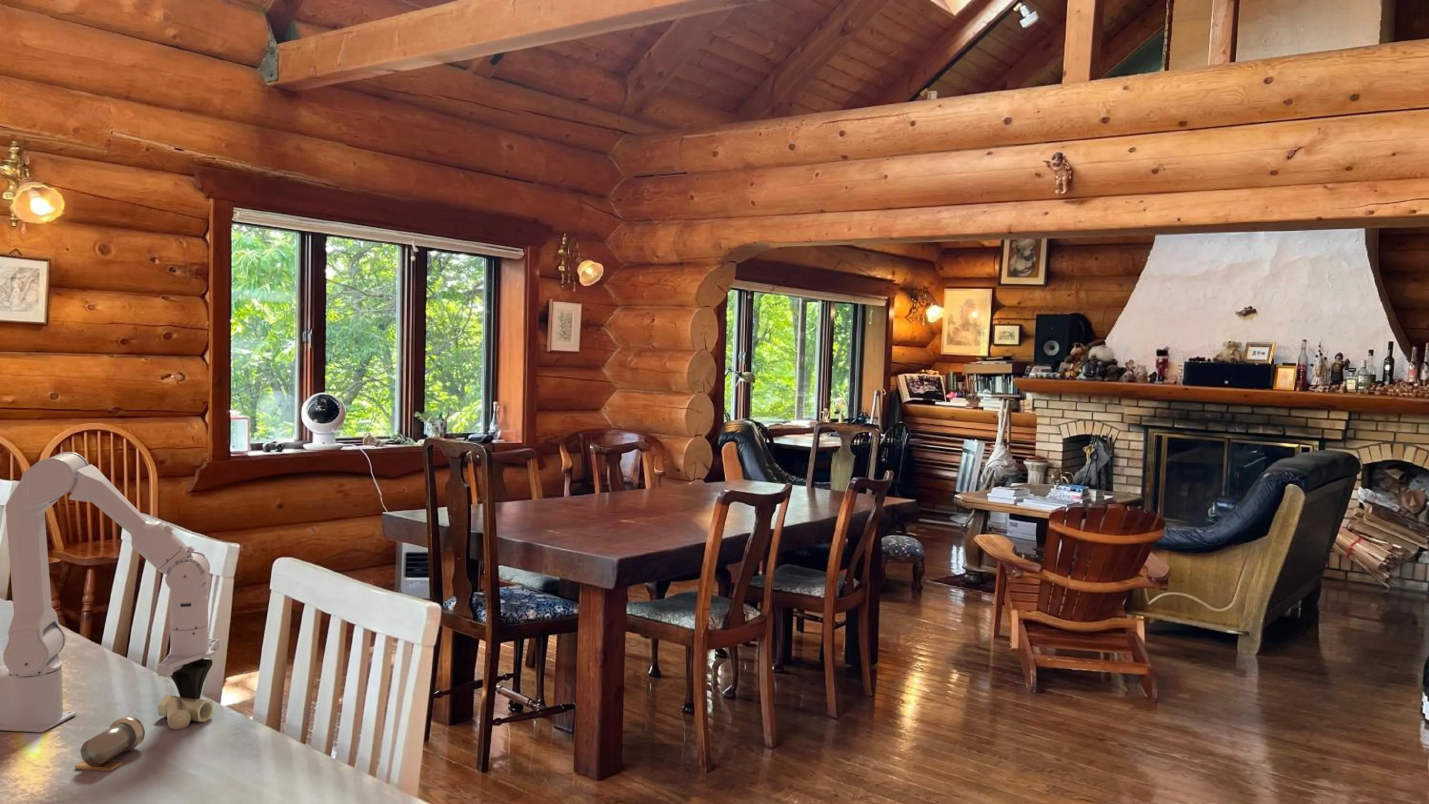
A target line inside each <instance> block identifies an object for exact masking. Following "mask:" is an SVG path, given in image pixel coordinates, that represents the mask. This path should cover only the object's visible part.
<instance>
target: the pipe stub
mask: <svg viewBox="0 0 1429 804" xmlns="http://www.w3.org/2000/svg"><path fill="white" fill-rule="evenodd" d="M145 730H146V729H145V727H144V724H143V723H142V721H141V720H139V719H138V718H136V717H134V716H131V715H127V716H126V715H125V716H122V717H120V718H118V719H117V720H115V721H113V722H112V723H111V724H110V726H109V728H107V729H106V730H104V731H102V732H101V733H98V734H97V735H95V736H92V738H90V739H87V741H85V742H83V744H82V746H81V747H80V755H81V758H82V760H83V761H81V762H79V763H77V764H76V765H74V770H82V771H85V770H86V771H101V772H102V771H104V772H113V771H114V770H116V769H117V768H118V767H121V766H123V761H122V760H111V759H113V758H114V757H116V756H118V755H119V754H121V753H122V752H129V751H132V750H133V749H135V748H137V747H138V746H140V745H141V744H142V743H143V742H144V739H145V736H146V735H145V734H146V731H145Z"/></svg>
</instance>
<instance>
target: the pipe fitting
mask: <svg viewBox="0 0 1429 804" xmlns="http://www.w3.org/2000/svg"><path fill="white" fill-rule="evenodd" d="M157 713H158V716H159V717H165V718H167V725H168V727H170V729H172V730H179V729H186V728H187V727H188V726H189V725H190V723H191V721H193V722H201V723H202V722H203V723H205V722H207V721H209V720H210V718H211V717H212V715H213V713H214V703H213V701H212V700H208V699H201V698H200V699H190V698H182V697H180V696H176V695H169V694H165V695H164V696H163V697H162V698H161V699H160V701H159V703H158V705H157Z"/></svg>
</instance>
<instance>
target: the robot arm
mask: <svg viewBox="0 0 1429 804" xmlns="http://www.w3.org/2000/svg"><path fill="white" fill-rule="evenodd" d="M69 493H71V494H70V495H69V497H68V500H71V501H76V502H77V501H79V502H87V503H88V502H89V503H92V504H93V505H94V506H96V507H97V508H98V509H99V510H101V511H102V512H103V513H104V514H105V515H107V517H109V518H110V519H111V520H113V521H114V522H115V523H116V524H118V525H119V526H120V527H121V528H122V529H123V530H125V531H126V532H127V533H128V534H130V536H131V543H130V544H131V547H132V548H133V549H134V550H135V551H136V552H138V554H139V555H141V556H142V558H144V559H145V560H146V561H147V562H148V563H149V564H150V565H152V566H153V567H154V568H155V569H156V570H158V572H160V573H162V574H164V575H166V576H165V577H164V580H165V583H166V585H167V587H168V588H169V589H170V600H169V622H170V623H169V625H170V626H169V628H170V631H169V632H170V633H169V634H170V635H169V636H170V641H169V642H170V652H169V653H168V654H167V656H166V657H165V658H164V659H163V661H162V662H160V663H158V664H157V676H158V677H168V678H169V677H170V678H171V680H172V681H173V683H174V684H175V686H176V689H177V692H178V695H179V697H182V698H190V699H201V695H202V691H203V687H204V683H205V680H206V678H207V676H208V673H209V671H210V669H211V667H212V666H213V659H210V658H212V657H214V656H215V655H216V652H218V651H219V650H220V638H209V597H208V584H207V581H206V580H207V578H208V576H209V575H210V571H211V570H210V569H211V565H210V562H209V560H208V559H207V557H206V556H205V554H204V553H202V552H201V551H197V550H196V549H195V547H193V545H190V546H188V545H187V544H186V543H185V542H184V541H182V539H180V538H179V537H178V536H177V535H176V534H175V533H174V532H173V531H174V530H175V527H173V525H171V524H170V523H167V524H164V523H163V522H162V521H161V520H149V519H147V518H146V517H145V515H143V514H142V513H141V512H140V510H138V509H137V508H136V507H135V506H134V504H133V503H131V502H130V501H129V499H127V498H126V497H125V495H123V494H122V492H121V491H119V490H118V488H117V487H116V486H115V485H114V484H113V483H112V482H111V481H110V480H109V479H108V478H107V477H106V476H105V474H103V473H102V472H101V470H99V468H97V466H95V465H93V464H92V463H91V464H89V462H88V460H87V459H86V458H85V457H84V456H82V455H80V453H77V452H73V451H72V452H71V451H64V452H60V453H57V454H55V455H54V456H51V457H47V458H43V459H40V460H39V461H37V462H36V463H34V464H33V465H31V466H30V467H29V468H27V469H26V470H25V471H24V472H23V473H22V476H21V478H20V481H19V482H18V484H17V485H16V487H15V488H14V490H13V492H12V493H11V495H10V496H9V499H8V500H7V501H6V504H5V517H6V531H7V532H6V533H7V543H8V545H7V546H8V555H9V569H10V582H11V594H12V595H11V596H12V606H13V607H12V608H13V615H12V620H11V622H10V625H9V628H8V631H7V632H8V634H7V635H8V641H7V644H6V647H5V648H4V651H3V653H2V655H3V656H2V658H3V659H2V660H3V663H4V665H5V667H6V668H4V669H2V670H1V671H0V731H7V732H8V731H9V732H28V733H44V732H46V731H48V730H49V729H52V728H54V727H55V726H57V725H60V723H63V722H65V721H66V720H69V719H71V718H73V717H74V716H76V715H77V712H76V711H70V710H69V711H68V710H67V711H66V710H65V711H64V697H63V696H64V693H63V692H64V691H63V688H64V687H63V661H62V660H61V659H60V656H59V654H60V653H61V652H62V650H63V649H64V648H65V645H66V640H67V639H66V638H67V637H66V633H65V631H64V630H63V628H62V627H61V625H60V623H59V620H58V613H57V612H56V610H55V609H54V608H53V604H52V594H51V593H52V591H51V581H50V580H51V579H50V566H49V555H48V553H49V552H48V539H47V528H46V517H45V516H46V511H47V510H49V509H50V508H51V507H52V506H54V504H55V503H56V502H57V501H59V500H60V499H61V498H62V497H63V496H64V495H66V494H69ZM208 658H209V659H208Z"/></svg>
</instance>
